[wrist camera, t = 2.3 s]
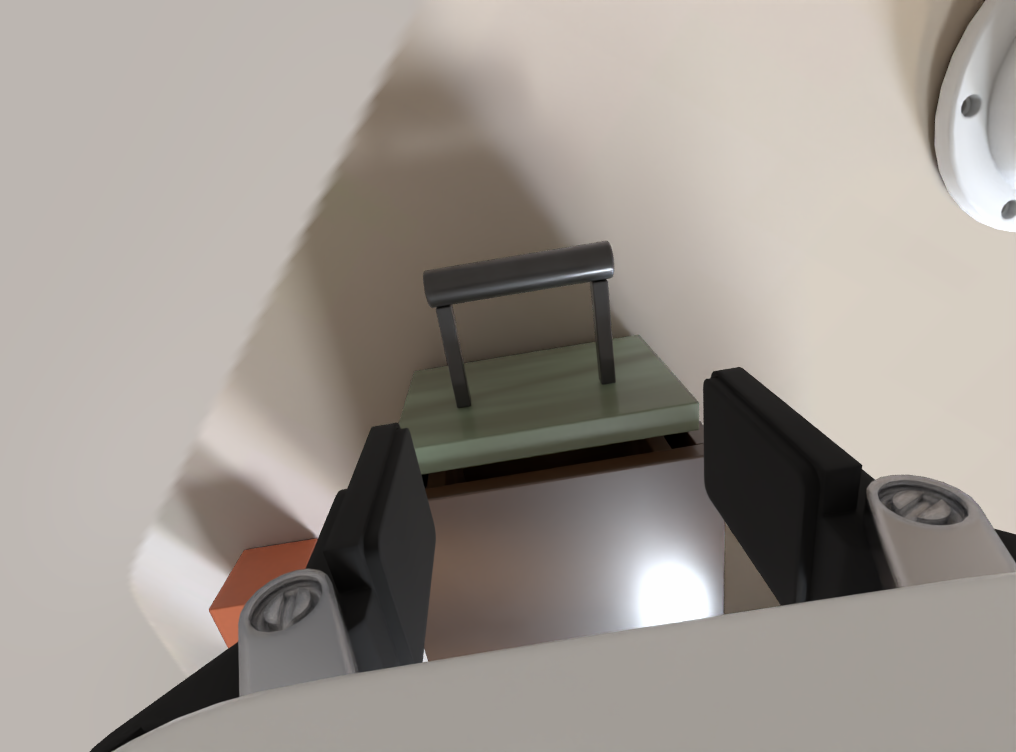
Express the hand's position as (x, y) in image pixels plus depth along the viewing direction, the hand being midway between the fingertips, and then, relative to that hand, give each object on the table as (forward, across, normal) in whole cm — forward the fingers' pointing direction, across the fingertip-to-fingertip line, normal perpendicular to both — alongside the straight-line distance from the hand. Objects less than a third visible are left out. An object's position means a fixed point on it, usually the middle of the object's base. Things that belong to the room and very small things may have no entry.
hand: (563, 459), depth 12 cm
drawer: (+15, 0, +7) cm, 16 cm away
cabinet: (+16, 0, +12) cm, 20 cm away
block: (+16, +16, +15) cm, 27 cm away
